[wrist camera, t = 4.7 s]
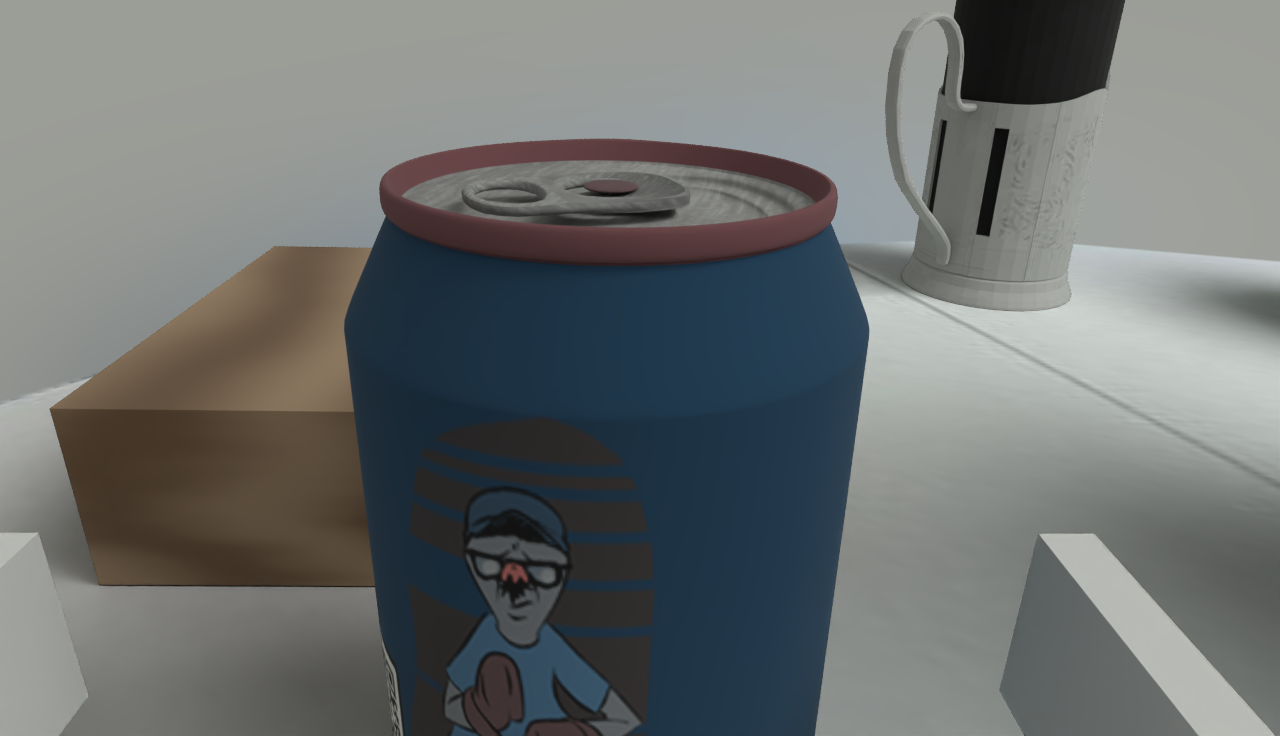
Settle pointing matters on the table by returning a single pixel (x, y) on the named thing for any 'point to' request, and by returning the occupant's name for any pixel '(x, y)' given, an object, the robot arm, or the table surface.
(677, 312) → the soda can
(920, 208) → the glass holder
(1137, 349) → the table surface
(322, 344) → the block
